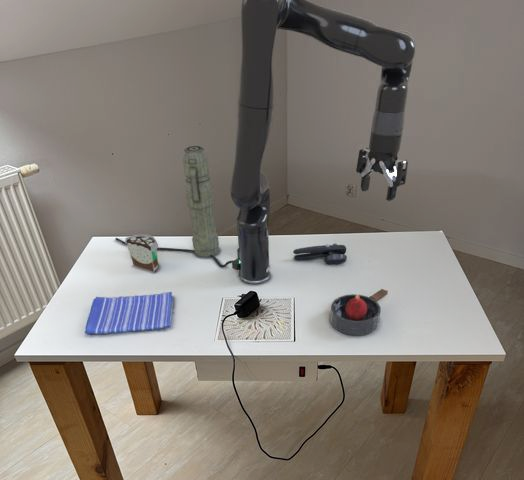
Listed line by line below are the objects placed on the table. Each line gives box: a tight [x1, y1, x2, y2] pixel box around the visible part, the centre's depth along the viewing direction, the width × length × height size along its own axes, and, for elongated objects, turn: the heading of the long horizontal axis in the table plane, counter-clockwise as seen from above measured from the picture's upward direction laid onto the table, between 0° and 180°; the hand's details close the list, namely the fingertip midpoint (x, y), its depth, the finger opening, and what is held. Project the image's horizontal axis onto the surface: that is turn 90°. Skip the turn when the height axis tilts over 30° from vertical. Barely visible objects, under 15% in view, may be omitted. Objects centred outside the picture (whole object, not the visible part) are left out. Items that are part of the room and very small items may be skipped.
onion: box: [345, 294, 367, 321], centre depth 129 cm, size 6×6×8 cm
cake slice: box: [124, 233, 159, 274], centre depth 158 cm, size 12×6×10 cm, turn 58°
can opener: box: [292, 242, 348, 265], centre depth 158 cm, size 18×7×6 cm, turn 81°
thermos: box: [182, 145, 220, 259], centre depth 156 cm, size 9×12×35 cm
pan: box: [329, 294, 382, 336], centre depth 130 cm, size 13×13×5 cm
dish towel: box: [84, 291, 174, 335], centre depth 138 cm, size 17×24×3 cm
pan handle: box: [368, 288, 389, 303], centre depth 135 cm, size 7×2×2 cm, turn 133°
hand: (377, 195), depth 126 cm, fingers open, 8 cm apart
